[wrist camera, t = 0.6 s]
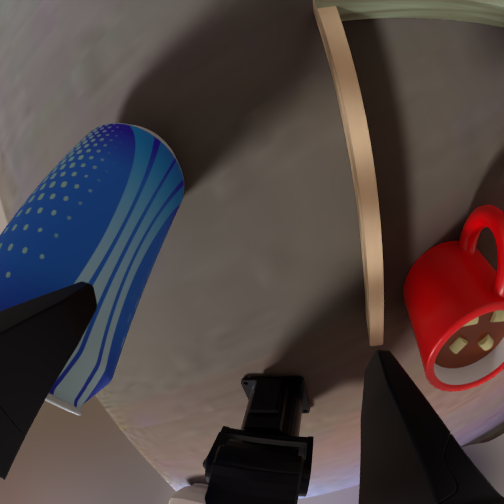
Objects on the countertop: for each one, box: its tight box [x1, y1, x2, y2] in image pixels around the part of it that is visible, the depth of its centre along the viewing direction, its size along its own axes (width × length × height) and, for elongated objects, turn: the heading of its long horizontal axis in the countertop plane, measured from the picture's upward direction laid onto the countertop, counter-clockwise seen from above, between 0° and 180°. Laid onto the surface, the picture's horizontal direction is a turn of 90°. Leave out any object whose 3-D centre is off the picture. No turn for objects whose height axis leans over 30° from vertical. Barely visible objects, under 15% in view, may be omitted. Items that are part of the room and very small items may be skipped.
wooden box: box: [313, 0, 504, 346], centre depth 14 cm, size 23×18×5 cm
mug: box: [403, 204, 504, 392], centre depth 16 cm, size 8×12×8 cm, turn 4°
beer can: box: [0, 123, 184, 416], centre depth 15 cm, size 8×8×16 cm
